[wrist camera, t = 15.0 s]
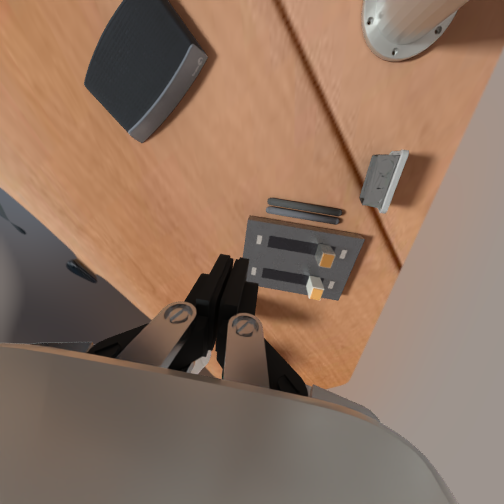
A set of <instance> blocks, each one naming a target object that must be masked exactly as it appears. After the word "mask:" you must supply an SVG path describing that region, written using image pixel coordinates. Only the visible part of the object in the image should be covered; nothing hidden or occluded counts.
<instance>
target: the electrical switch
mask: <svg viewBox="0 0 504 504" xmlns="http://www.w3.org/2000/svg"><path fill="white" fill-rule="evenodd" d="M408 155H409V150H401V151H392V152H391V153H390V154H389V155H373V156H372V158H371V162H370V165H369V168H368V171H367V175H366V178H365V181H364V185H363V188H362V191H361V194H360V201H361V203H362V205H367V206H371V207H377V208H378V210H379V213H386V212H387V210H388V208H389V205H390V202H391V200H392V197H393V194H394V192H395V189H396V186H397V184H398V181H399V179H400V176H401V173H402V171H403V168H404V165H405V163H406V160H407V157H408ZM370 168H371V169H370Z"/></svg>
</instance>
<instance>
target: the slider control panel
mask: <svg viewBox="0 0 504 504" xmlns="http://www.w3.org/2000/svg"><path fill="white" fill-rule="evenodd" d="M364 240H365V239H364V238H363V237H362V236H361V235H360V234H356V233H350V232H344V231H338V230H332V229H326V228H320V227H315V226H309V225H303V224H297V223H291V222H285V221H279V220H273V219H267V218H261V217H256V216H249V218H248V223H247V230H246V238H245V245H244V252H243V258H247V259H249V266H248V272H247V279H246V281H248V282H254V283H259V285H258V286H260V287H265V288H271V289H277V290H282V291H288V292H293V293H299V294H304V295H308V292H307V288H306V285H307V282H308V279H309V276H314V277H320V279H321V281H322V284H323V287H324V291H323V294H322V296H321V298H327V299H332V300H339V298H340V296H341V293H342V291H343V289H344V286H345V284H346V282H347V279H348V277H349V275H350V273H351V270H352V268H353V266H354V263H355V261H356V259H357V256H358V254H359V252H360V249H361V247H362V245H363V242H364Z"/></svg>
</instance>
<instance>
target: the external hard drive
mask: <svg viewBox="0 0 504 504" xmlns="http://www.w3.org/2000/svg"><path fill="white" fill-rule="evenodd" d="M207 58H208V57H207V55H206V53H205V52H204V50H203V49H202V48H201V46H200V45H199V43H198V42H197V41H196V39H195V38H194V36H193V35H192V34H191V32H190V31H189V29H188V28H187V27H186V25H185V24H184V22H183V21H182V20H181V18H180V17H179V15H178V14H177V13H176V11H175V10H174V8H173V7H172V6H171V4H170V3H169V1H168V0H123V1H122V3H121V4H120V6H119V7H118V8H117V10H116V11H115V13H114V14H113V16H112V18H111V19H110V21H109V23H108V24H107V26H106V28H105V30H104V32H103V33H102V35H101V37H100V40H99V42H98V44H97V46H96V49H95V51H94V54H93V56H92V59H91V61H90V64H89V67H88V70H87V74H86V77H85V82H84V85H85V87H86V88H87V89H88V90H89V91H90V92H91V94H92V95H93V96H94V97H95V98H96V99H97V100H98V101H99V102H100V103H101V104H102V105H103V106H104V107H105V109H106V110H107V111H108V112H109V113H110V114H111V115H112V116H113V117H114V118H115V119H116V120H117V121H118V122H119V124H120V125H121V126H122V127H123V128H124V129H125V130H126V131H127V132H128V133H129V134H130V135H131V136H132V137H133V138H134V139H136V140H137V141H139V142H141V143H143V142H144V141H145V140H146V139H147V138H148V137H149V136H150V135H151V134H152V133H153V132H154V131H155V130H156V129H157V128H158V127H159V126H160V125H161V124H162V123H163V122H164V120H165V119H166V118H167V117H168V116H169V115H170V113H171V112H172V111H173V110H174V108H175V107H176V106H177V104H178V103H179V102H180V100H181V99H182V98H183V96H184V95H185V93H186V92H187V91H188V89H189V88H190V86H191V85H192V83H193V82H194V80H195V79H196V77H197V75H198V74H199V72H200V71H201V69H202V67H203V65H204V64H205V62H206V60H207Z"/></svg>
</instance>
